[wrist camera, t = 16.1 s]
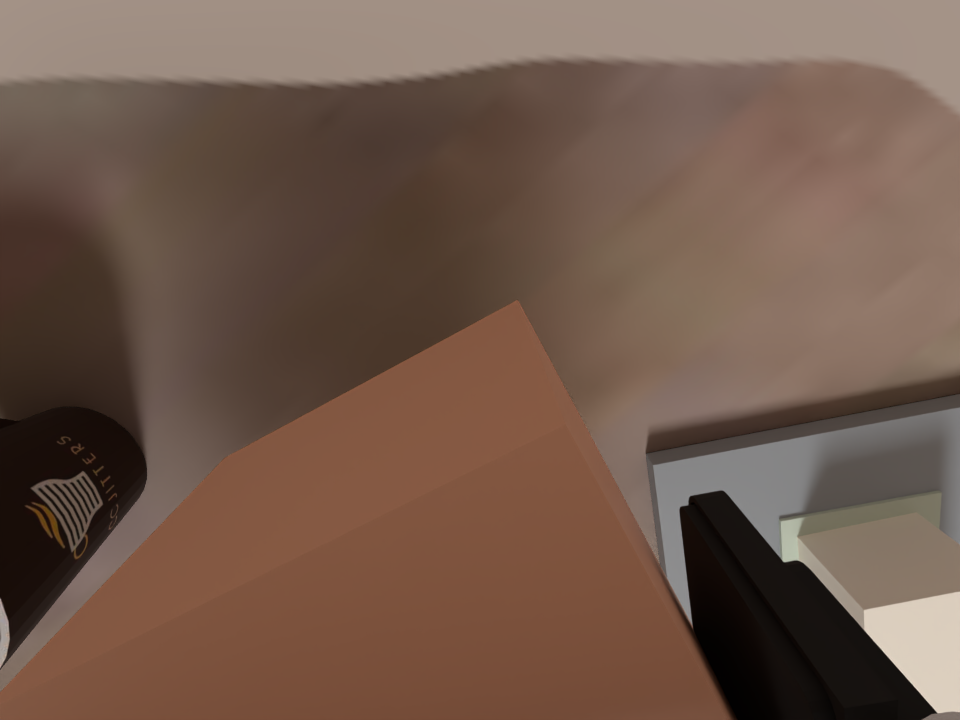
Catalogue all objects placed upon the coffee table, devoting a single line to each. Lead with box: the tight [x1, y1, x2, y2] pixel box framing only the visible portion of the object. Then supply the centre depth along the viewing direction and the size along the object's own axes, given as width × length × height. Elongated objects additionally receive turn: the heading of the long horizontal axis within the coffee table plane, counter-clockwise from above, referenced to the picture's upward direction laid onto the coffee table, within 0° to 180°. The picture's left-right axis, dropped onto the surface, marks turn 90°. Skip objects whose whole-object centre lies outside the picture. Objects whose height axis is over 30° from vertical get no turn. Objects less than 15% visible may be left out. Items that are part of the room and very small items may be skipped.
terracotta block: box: [0, 300, 737, 720], centre depth 8 cm, size 9×6×5 cm, turn 29°
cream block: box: [797, 512, 960, 713], centre depth 26 cm, size 9×6×5 cm, turn 14°
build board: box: [646, 394, 960, 624], centre depth 29 cm, size 20×20×1 cm
